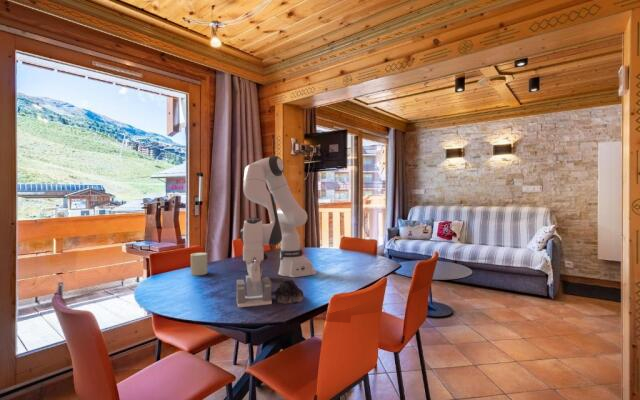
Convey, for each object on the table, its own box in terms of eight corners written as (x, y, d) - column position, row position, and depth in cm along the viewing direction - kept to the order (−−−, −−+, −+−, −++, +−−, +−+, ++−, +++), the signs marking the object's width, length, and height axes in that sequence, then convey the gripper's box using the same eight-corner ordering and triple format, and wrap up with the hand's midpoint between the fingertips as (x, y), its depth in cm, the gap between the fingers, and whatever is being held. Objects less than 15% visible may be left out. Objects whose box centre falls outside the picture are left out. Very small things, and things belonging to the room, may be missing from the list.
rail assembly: (268, 295, 146) (267, 276, 146) (271, 303, 136) (271, 282, 136) (236, 299, 142) (236, 278, 142) (237, 307, 132) (237, 285, 131)
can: (191, 272, 190) (190, 252, 190) (207, 271, 193) (207, 251, 193) (189, 276, 182) (189, 255, 181) (207, 274, 184) (206, 254, 184)
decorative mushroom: (264, 280, 172) (264, 252, 172) (245, 279, 174) (244, 252, 173) (270, 275, 183) (270, 249, 182) (252, 274, 184) (252, 248, 184)
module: (259, 292, 142) (259, 274, 142) (261, 295, 138) (261, 276, 137) (245, 293, 140) (245, 275, 140) (246, 297, 136) (246, 278, 135)
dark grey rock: (289, 294, 151) (286, 273, 151) (311, 297, 143) (309, 275, 142) (268, 304, 141) (265, 282, 140) (291, 308, 132) (288, 284, 132)
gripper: (263, 260, 130) (264, 293, 130) (257, 251, 149) (258, 280, 149) (248, 261, 128) (248, 295, 128) (244, 252, 147) (244, 281, 148)
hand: (253, 287), depth 139 cm, fingers closed on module, 5 cm apart
